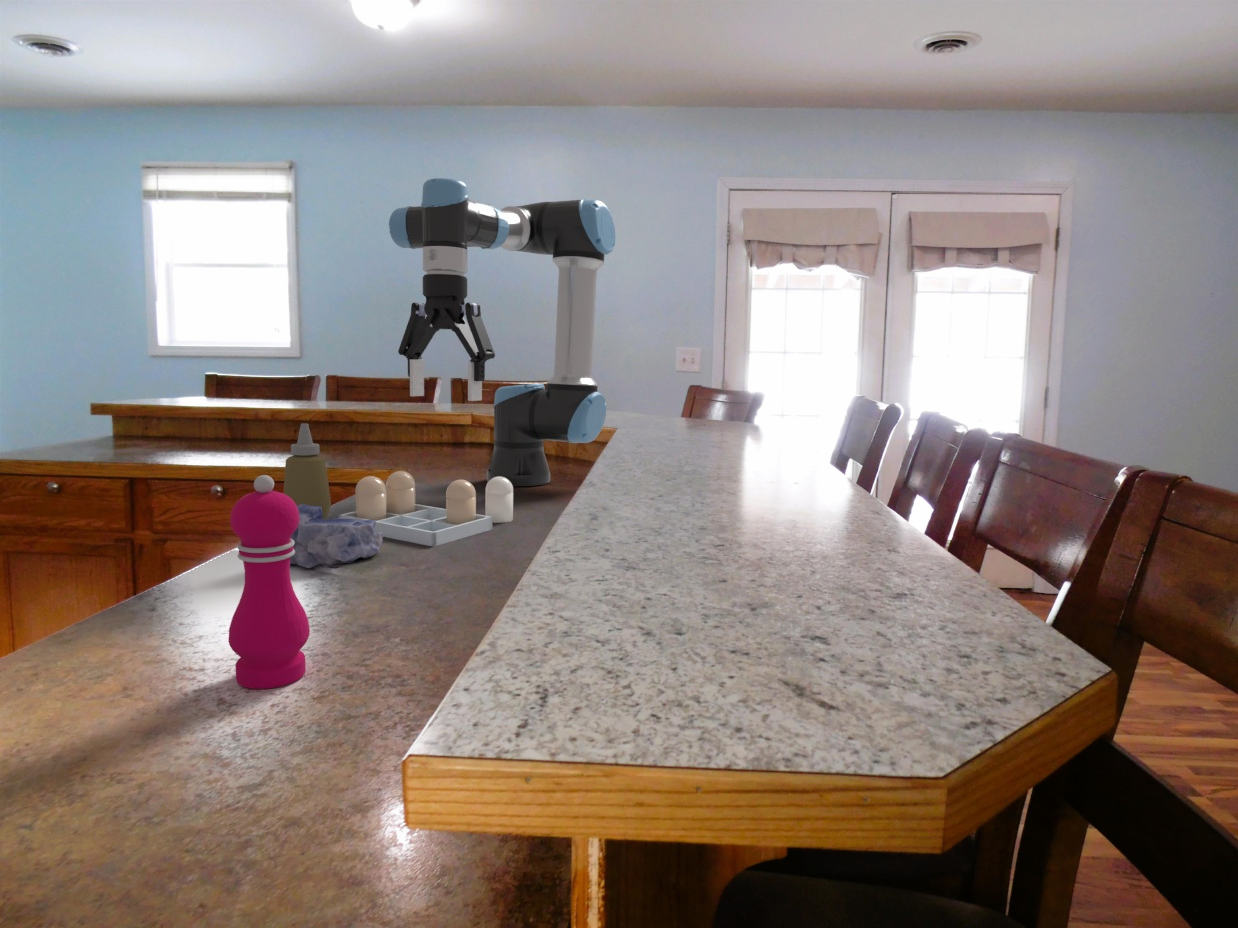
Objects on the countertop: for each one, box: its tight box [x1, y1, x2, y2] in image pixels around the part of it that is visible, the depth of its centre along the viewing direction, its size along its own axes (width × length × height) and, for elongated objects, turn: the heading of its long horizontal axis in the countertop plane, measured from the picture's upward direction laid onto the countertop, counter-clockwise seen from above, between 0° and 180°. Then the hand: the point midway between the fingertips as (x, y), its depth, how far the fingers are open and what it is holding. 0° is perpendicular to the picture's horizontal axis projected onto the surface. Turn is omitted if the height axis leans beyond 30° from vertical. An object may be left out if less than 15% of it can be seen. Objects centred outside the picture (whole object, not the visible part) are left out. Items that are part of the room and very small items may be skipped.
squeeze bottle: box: [282, 423, 332, 520], centre depth 138 cm, size 8×8×18 cm
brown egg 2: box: [385, 470, 416, 515], centre depth 142 cm, size 5×5×9 cm
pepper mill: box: [228, 474, 311, 690], centre depth 76 cm, size 7×7×20 cm
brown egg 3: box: [445, 479, 477, 525], centre depth 135 cm, size 5×5×9 cm
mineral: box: [290, 504, 384, 569], centre depth 116 cm, size 14×10×10 cm
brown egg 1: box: [355, 475, 386, 521], centre depth 136 cm, size 5×5×9 cm
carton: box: [337, 503, 494, 548], centre depth 136 cm, size 15×22×3 cm
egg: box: [484, 476, 514, 524], centre depth 144 cm, size 5×5×9 cm
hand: (445, 398), depth 139 cm, fingers open, 13 cm apart
